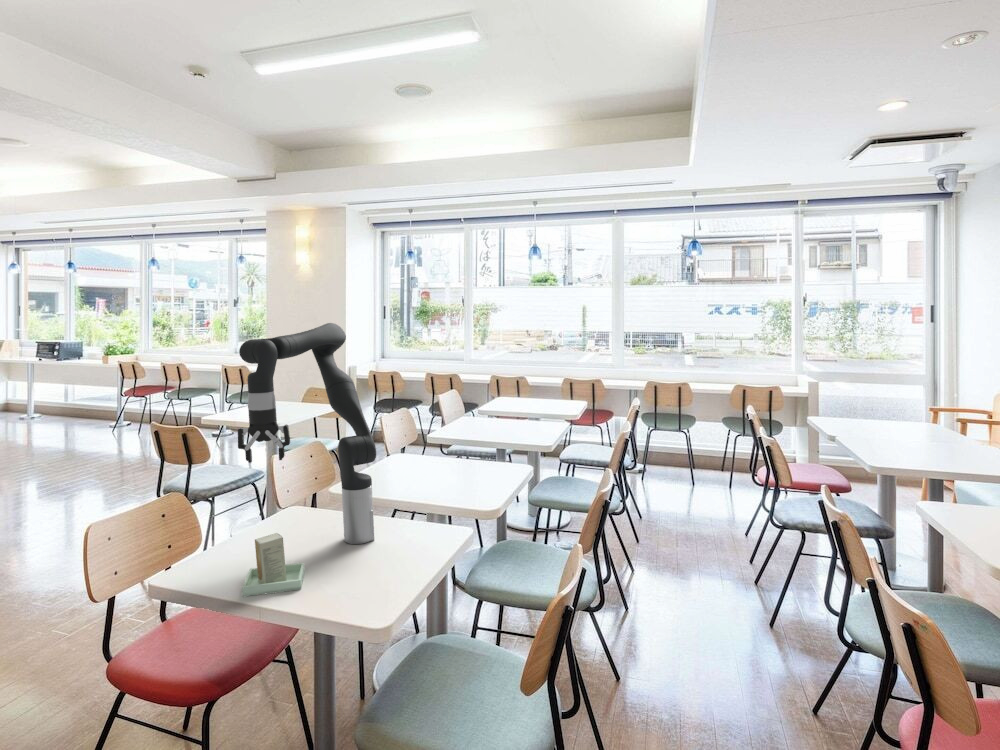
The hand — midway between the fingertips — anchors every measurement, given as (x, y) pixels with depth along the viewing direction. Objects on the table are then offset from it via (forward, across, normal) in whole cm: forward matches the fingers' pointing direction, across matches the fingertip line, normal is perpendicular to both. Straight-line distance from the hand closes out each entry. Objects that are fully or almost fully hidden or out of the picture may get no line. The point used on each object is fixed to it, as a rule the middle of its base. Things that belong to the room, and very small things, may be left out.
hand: (265, 460), depth 170 cm
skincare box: (+28, -3, +23) cm, 36 cm away
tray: (+28, -4, +23) cm, 36 cm away
